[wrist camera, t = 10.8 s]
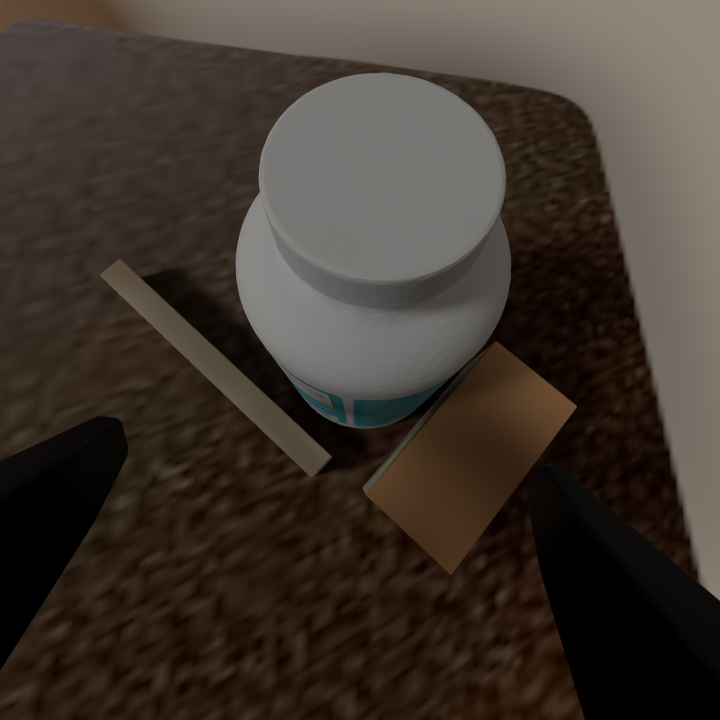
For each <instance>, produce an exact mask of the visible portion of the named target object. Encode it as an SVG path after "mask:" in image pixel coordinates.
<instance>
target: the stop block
mask: <svg viewBox="0 0 720 720" xmlns="http://www.w3.org/2000/svg"><path fill="white" fill-rule="evenodd" d="M576 407H577V406H576V405H575V404H574V403H572V402H571V401H570V400H569V399H568V398H566V397H565V396H564V395H563V394H561V393H560V392H559V391H558V390H556V389H555V388H554V387H553V386H551V385H550V384H549V383H548V382H546V381H545V380H544V379H543V378H542V377H540V376H539V375H538V374H537V373H535V372H534V371H533V370H532V369H530V368H529V367H528V366H527V365H525V364H524V363H523V362H522V361H521V360H519V359H518V358H517V357H516V356H514V355H513V354H512V353H511V352H509V351H508V350H507V349H506V348H504V347H503V346H502V345H501V344H500V343H498V342H497V341H496V342H494V343H493V344H492V345H491V346H489V347H488V348H487V349H486V350H485V351H483V352H482V353H481V354H480V355H479V356H477V357H476V358H475V359H474V360H472V361H471V362H470V363H469V364H468V365H466V366H465V367H464V369H463V370H462V371H461V372H460V373H459V374H458V376H457V377H456V378H455V379H454V380H453V381H452V383H451V384H450V385H449V386H448V387H447V389H446V390H445V391H444V392H443V393H442V394H441V396H440V397H439V398H438V399H437V400H436V401H435V403H434V404H433V405H432V406H431V407H430V409H429V410H428V411H427V412H426V413H425V414H424V416H423V417H422V418H421V419H420V420H419V421H418V423H417V424H416V425H415V426H414V427H413V429H412V430H411V431H410V432H409V433H408V434H407V436H406V437H405V438H404V439H403V440H402V441H401V443H400V444H399V445H398V446H397V447H396V448H395V450H394V451H393V452H392V453H391V454H390V456H389V457H388V458H387V459H386V460H385V461H384V463H383V464H382V465H381V466H380V467H379V468H378V470H377V471H376V472H375V473H374V474H373V476H372V477H371V478H370V479H369V480H368V481H367V483H366V484H365V485H364V486H363V487H362V488H363V490H364V492H365V494H366V495H367V496H368V497H369V498H370V499H371V500H372V501H373V502H374V503H375V504H376V505H377V506H378V507H379V508H380V509H381V510H383V511H384V512H385V513H386V514H387V515H388V516H389V517H390V518H391V519H392V520H393V521H394V522H395V523H396V524H397V525H399V526H400V527H401V528H402V529H403V530H404V531H405V532H406V533H407V534H408V535H409V536H410V537H411V538H412V539H413V540H414V541H416V542H417V543H418V544H419V545H420V546H421V547H422V548H423V549H424V550H425V551H426V552H427V553H428V554H429V555H430V556H432V557H433V558H434V559H435V560H436V561H437V562H438V563H439V564H440V565H441V566H442V567H443V568H444V569H445V570H446V571H447V572H449V573H450V574H452V573H453V572H454V570H455V569H456V568H457V566H458V565H459V564H460V562H461V561H462V560H463V558H464V557H465V556H466V554H467V553H468V552H469V550H470V549H471V548H472V546H473V545H474V543H475V542H476V541H477V539H478V538H479V537H480V535H481V534H482V533H483V531H484V530H485V529H486V527H487V526H488V525H489V523H490V522H491V521H492V519H493V518H494V517H495V515H496V514H497V513H498V511H499V510H500V509H501V507H502V506H503V505H504V503H505V502H506V501H507V499H508V498H509V497H510V495H511V494H512V493H513V491H514V490H515V489H516V487H517V486H518V485H519V483H520V482H521V481H522V479H523V478H524V477H525V475H526V474H527V473H528V471H529V470H530V469H531V467H532V466H533V465H534V463H535V462H536V461H537V459H538V458H539V457H540V455H541V454H542V453H543V451H544V450H545V449H546V447H547V446H548V445H549V443H550V442H551V441H552V439H553V438H554V437H555V435H556V434H557V433H558V431H559V430H560V429H561V427H562V426H563V425H564V423H565V422H566V421H567V419H568V418H569V417H570V415H571V414H572V413H573V411H574V410H575V409H576Z"/></svg>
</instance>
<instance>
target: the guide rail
mask: <svg viewBox="0 0 720 720" xmlns="http://www.w3.org/2000/svg"><path fill="white" fill-rule="evenodd" d="M100 276H101V277H102V278H103V279H104V280H105V281H106V282H107V283H108V284H110V285H111V286H112V287H113V288H114V289H115V290H116V291H117V292H118V293H119V294H120V295H121V296H122V297H123V298H124V299H125V300H126V301H127V302H128V303H129V304H130V305H131V306H133V307H134V308H135V309H136V310H137V311H138V312H139V313H140V314H141V315H142V316H143V317H144V318H145V319H146V320H147V321H148V322H149V323H150V324H151V325H152V326H153V327H154V328H156V329H157V330H158V331H159V332H160V333H161V334H162V335H163V336H164V337H165V338H166V339H167V340H168V341H169V342H170V343H171V344H172V345H173V346H174V347H175V348H176V349H177V350H179V351H180V352H181V353H182V354H183V355H184V356H185V357H186V358H187V359H188V360H189V361H190V362H191V363H192V364H193V365H194V366H195V367H196V368H197V369H198V370H199V371H200V372H202V373H203V374H204V375H205V376H206V377H207V378H208V379H209V380H210V381H211V382H212V383H213V384H214V385H215V386H216V387H217V388H218V389H219V390H220V391H221V392H222V393H223V394H225V395H226V396H227V397H228V398H229V399H230V400H231V401H232V402H233V403H234V404H235V405H236V406H237V407H238V408H239V409H240V410H241V411H242V412H243V413H244V414H245V415H246V416H248V417H249V418H250V419H251V420H252V421H253V422H254V423H255V424H256V425H257V426H258V427H259V428H260V429H261V430H262V431H263V432H264V433H265V434H266V435H267V436H268V437H269V438H271V439H272V440H273V441H274V442H275V443H276V444H277V445H278V446H279V447H280V448H281V449H282V450H283V451H284V452H285V453H286V454H287V455H288V456H289V457H290V458H291V459H292V460H294V461H295V462H296V463H297V464H298V465H299V466H300V467H301V468H302V469H303V470H304V471H305V472H306V473H307V474H308V475H309V476H310V477H311V478H313V477H315V476H316V475H317V474H318V473H319V472H320V471H321V470H322V469H323V467H324V466H325V465H326V464H327V463H328V462H329V461H330V460H331V458H332V456H331V455H330V454H329V453H328V452H327V451H326V450H325V449H324V448H323V447H322V446H320V445H319V444H318V443H317V442H316V441H315V440H314V439H313V438H312V437H311V436H310V435H309V434H308V433H307V432H306V431H304V430H303V429H302V428H301V427H300V426H299V425H298V424H297V423H296V422H295V421H294V420H293V419H292V418H291V417H289V416H288V415H287V414H286V413H285V412H284V411H283V410H282V409H281V408H280V407H279V406H278V405H277V404H276V403H275V402H273V401H272V400H271V399H270V398H269V397H268V396H267V395H266V394H265V393H264V392H263V391H262V390H261V389H260V388H258V387H257V386H256V385H255V384H254V383H253V382H252V381H251V380H250V379H249V378H248V377H247V376H246V375H245V374H244V373H242V372H241V371H240V370H239V369H238V368H237V367H236V366H235V365H234V364H233V363H232V362H231V361H230V360H229V359H227V358H226V357H225V356H224V355H223V354H222V353H221V352H220V351H219V350H218V349H217V348H216V347H215V346H214V345H213V344H211V343H210V342H209V341H208V340H207V339H206V338H205V337H204V336H203V335H202V334H201V333H200V332H199V331H198V330H196V329H195V328H194V327H193V326H192V325H191V324H190V323H189V322H188V321H187V320H186V319H185V318H184V317H183V316H182V315H180V314H179V313H178V312H177V311H176V310H175V309H174V308H173V307H172V306H171V305H170V304H169V303H168V302H167V301H166V300H164V299H163V298H162V297H161V296H160V295H159V294H158V293H157V292H156V291H155V290H154V289H153V288H152V287H151V286H149V285H148V284H147V283H146V282H145V281H144V280H143V279H142V278H141V277H140V276H139V275H138V274H136V273H135V272H134V271H133V270H132V269H131V268H130V267H129V266H127V265H126V264H125V263H124V262H123V261H122V260H121V259H118V260H117V261H116V262H115V263H114V264H112V265H111V266H110V267H109V268H108V269H106V270H105V271H104V272H103V273H102V274H100Z"/></svg>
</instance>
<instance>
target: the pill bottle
mask: <svg viewBox="0 0 720 720" xmlns="http://www.w3.org/2000/svg"><path fill="white" fill-rule="evenodd" d="M259 186H260V193H259V194H258V196H257V197H256V198H255V200H254V202H253V204H252V205H251V207H250V209H249V211H248V213H247V215H246V218H245V220H244V223H243V225H242V229H241V232H240V236H239V240H238V245H237V253H236V278H237V285H238V290H239V295H240V299H241V302H242V306H243V308H244V310H245V313H246V315H247V318H248V320H249V322H250V324H251V326H252V328H253V329H254V331H255V333H256V334H257V336H258V337H259V339H260V340H261V342H262V343H263V344H264V346H265V347H266V349H267V350H268V352H269V353H270V354H271V355H272V357H273V358H274V359H275V361H276V362H277V363H278V365H279V366H280V368H281V369H282V370H283V371H284V373H285V374H286V375H287V377H288V378H289V380H290V381H291V382H292V384H293V385H294V386H295V388H296V389H297V390H298V392H299V393H300V394H301V396H302V397H303V398H304V399H305V400H306V402H307V403H308V404H309V405H310V406H311V407H312V408H313V409H314V410H315V411H317V412H318V413H319V414H321V415H322V416H323V417H325V418H327V419H329V420H331V421H333V422H335V423H338V424H340V425H343V426H348V427H352V428H378V427H383V426H386V425H390V424H392V423H395V422H397V421H399V420H401V419H403V418H405V417H406V416H408V415H409V414H411V413H412V412H413V411H415V410H416V409H417V408H418V407H419V406H420V405H421V404H423V403H424V402H425V401H426V400H427V399H428V398H429V397H430V396H431V395H432V394H433V393H434V392H435V391H436V390H438V389H439V388H440V387H441V386H442V385H443V384H444V383H445V382H446V381H448V380H449V379H450V378H451V377H452V376H453V375H454V374H455V373H457V372H458V371H459V370H460V369H461V368H462V367H463V366H464V365H465V364H466V363H467V362H468V361H469V360H471V359H472V358H473V357H474V356H475V355H476V354H477V352H478V351H479V350H480V349H481V348H482V347H483V345H484V344H485V343H486V342H487V340H488V339H489V337H490V336H491V334H492V332H493V331H494V329H495V327H496V326H497V324H498V322H499V319H500V317H501V315H502V312H503V310H504V307H505V303H506V300H507V297H508V291H509V286H510V280H511V255H510V248H509V243H508V238H507V234H506V231H505V228H504V225H503V222H502V220H501V217H500V212H501V209H502V205H503V202H504V196H505V190H506V173H505V165H504V160H503V156H502V153H501V150H500V147H499V145H498V143H497V141H496V139H495V136H494V134H493V133H492V131H491V130H490V128H489V127H488V126H487V124H486V123H485V121H484V120H483V119H482V117H481V116H480V115H479V114H478V113H477V112H476V111H475V110H474V109H473V108H472V107H471V106H469V105H468V104H467V103H466V102H464V101H463V100H462V99H460V98H459V97H458V96H456V95H455V94H453V93H451V92H449V91H448V90H446V89H444V88H442V87H440V86H438V85H435V84H433V83H430V82H428V81H426V80H422V79H419V78H415V77H411V76H406V75H398V74H391V73H371V74H360V75H353V76H348V77H344V78H340V79H337V80H334V81H332V82H329V83H326V84H324V85H322V86H319V87H317V88H315V89H313V90H312V91H310V92H308V93H307V94H305V95H303V96H302V97H301V98H299V99H298V100H297V101H296V102H295V103H294V104H292V105H291V106H290V107H289V108H288V109H287V110H286V111H285V112H284V113H283V114H282V115H281V117H280V118H279V120H278V121H277V122H276V124H275V125H274V127H273V128H272V130H271V132H270V133H269V135H268V138H267V140H266V143H265V145H264V148H263V151H262V155H261V160H260V169H259Z"/></svg>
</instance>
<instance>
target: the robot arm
mask: <svg viewBox="0 0 720 720" xmlns="http://www.w3.org/2000/svg"><path fill="white" fill-rule="evenodd" d="M127 454H128V444H127V440H126V436H125V433H124V429H123V425H122V422H121V421H120V420H119V419H118V418H113V417H104V416H99V417H95V418H93V419H91V420H89V421H86V422H84V423H82V424H80V425H78V426H76V427H73V428H71V429H69V430H67V431H65V432H62V433H60V434H58V435H56V436H54V437H52V438H49V439H47V440H45V441H43V442H41V443H39V444H36V445H34V446H32V447H30V448H28V449H25V450H23V451H21V452H19V453H17V454H15V455H12V456H10V457H8V458H6V459H4V460H1V461H0V670H1V668H2V667H3V665H4V664H5V662H6V660H7V659H8V657H9V656H10V654H11V653H12V651H13V649H14V648H15V646H16V645H17V643H18V642H19V640H20V638H21V637H22V635H23V634H24V632H25V630H26V629H27V627H28V626H29V624H30V623H31V621H32V619H33V618H34V616H35V615H36V613H37V612H38V610H39V608H40V607H41V605H42V604H43V602H44V601H45V599H46V597H47V596H48V594H49V593H50V591H51V590H52V588H53V586H54V585H55V583H56V582H57V580H58V579H59V577H60V575H61V574H62V572H63V571H64V569H65V567H66V566H67V564H68V563H69V561H70V560H71V558H72V556H73V555H74V553H75V552H76V550H77V549H78V547H79V545H80V544H81V542H82V541H83V539H84V538H85V536H86V534H87V533H88V531H89V529H90V528H91V526H92V524H93V523H94V521H95V519H96V517H97V515H98V514H99V512H100V510H101V508H102V506H103V504H104V502H105V500H106V498H107V496H108V494H109V492H110V490H111V488H112V486H113V484H114V482H115V480H116V478H117V476H118V474H119V472H120V470H121V468H122V466H123V464H124V462H125V460H126V458H127ZM527 504H528V510H529V515H530V520H531V525H532V531H533V536H534V541H535V546H536V552H537V557H538V562H539V566H540V571H541V575H542V578H543V582H544V585H545V589H546V592H547V595H548V599H549V602H550V605H551V609H552V612H553V615H554V619H555V622H556V625H557V628H558V632H559V635H560V638H561V642H562V645H563V648H564V652H565V655H566V658H567V662H568V665H569V668H570V671H571V675H572V678H573V681H574V685H575V688H576V691H577V695H578V698H579V701H580V705H581V708H582V711H583V714H584V718H585V720H720V601H719V600H718V599H717V598H716V597H715V596H714V595H712V594H711V593H710V592H709V591H708V590H706V589H705V588H704V587H703V586H702V585H701V584H699V583H698V582H697V581H696V580H695V579H693V578H692V577H691V576H690V575H689V574H687V573H686V572H685V571H684V570H683V569H682V568H680V567H679V566H678V565H677V564H676V563H674V562H673V561H672V560H671V559H670V558H669V557H667V556H666V555H665V554H664V553H663V552H661V551H660V550H659V549H658V548H657V547H656V546H654V545H653V544H652V543H651V542H650V541H648V540H647V539H646V538H645V537H644V536H642V535H641V534H640V533H639V532H638V531H637V530H635V529H634V528H633V527H632V526H631V525H629V524H628V523H627V522H626V521H625V520H624V519H622V518H621V517H620V516H619V515H618V514H616V513H615V512H614V511H613V510H612V509H610V508H609V507H608V506H607V505H606V504H605V503H603V502H602V501H601V500H600V499H599V498H597V497H596V496H595V495H594V494H593V493H592V492H590V491H589V490H588V489H587V488H586V487H584V486H583V485H582V484H581V483H580V482H578V481H577V480H576V479H575V478H574V477H573V476H571V475H570V474H569V473H568V472H567V471H565V470H564V469H563V468H561V467H559V466H551V465H541V466H539V467H538V469H537V471H536V473H535V475H534V478H533V480H532V482H531V484H530V487H529V489H528V492H527Z"/></svg>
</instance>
